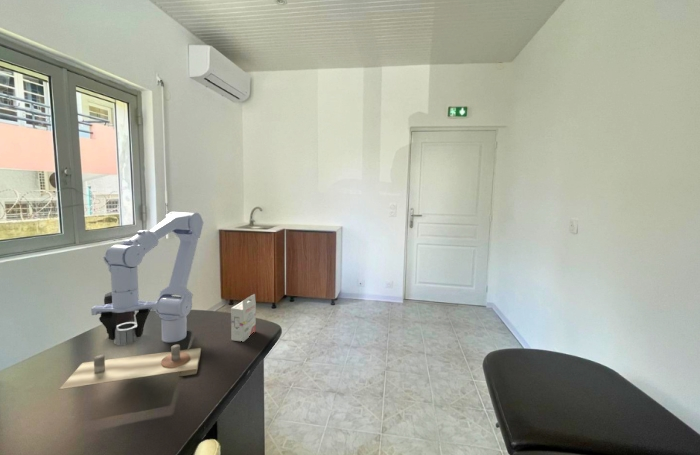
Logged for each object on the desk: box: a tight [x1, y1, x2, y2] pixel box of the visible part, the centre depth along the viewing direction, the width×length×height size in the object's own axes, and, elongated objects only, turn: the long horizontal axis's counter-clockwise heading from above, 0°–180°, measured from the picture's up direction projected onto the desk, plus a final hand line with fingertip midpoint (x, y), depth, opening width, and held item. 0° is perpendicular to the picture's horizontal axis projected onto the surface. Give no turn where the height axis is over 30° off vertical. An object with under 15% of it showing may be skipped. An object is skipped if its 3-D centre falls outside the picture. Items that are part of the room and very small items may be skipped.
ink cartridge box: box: [230, 293, 257, 343], centre depth 107 cm, size 9×5×15 cm, turn 168°
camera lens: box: [103, 291, 136, 339], centre depth 103 cm, size 8×8×15 cm
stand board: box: [59, 344, 202, 390], centre depth 84 cm, size 12×30×6 cm, turn 111°
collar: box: [113, 321, 140, 346], centre depth 82 cm, size 5×5×4 cm
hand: (127, 336), depth 82 cm, fingers closed on collar, 5 cm apart
